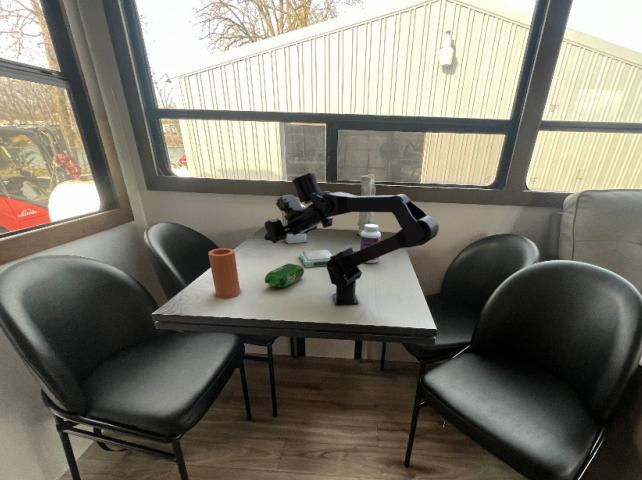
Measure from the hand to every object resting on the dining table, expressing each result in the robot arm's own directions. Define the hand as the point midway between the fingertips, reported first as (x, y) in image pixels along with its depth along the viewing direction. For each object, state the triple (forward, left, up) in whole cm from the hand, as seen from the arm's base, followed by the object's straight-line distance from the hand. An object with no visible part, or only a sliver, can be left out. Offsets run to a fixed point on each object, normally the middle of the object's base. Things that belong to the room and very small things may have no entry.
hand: (275, 235), depth 94 cm
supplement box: (+48, -5, -15) cm, 50 cm away
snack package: (-3, -2, -15) cm, 16 cm away
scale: (+18, -14, -15) cm, 27 cm away
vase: (+57, -42, -15) cm, 72 cm away
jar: (-9, +15, -15) cm, 23 cm away
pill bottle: (+17, -35, -15) cm, 42 cm away
